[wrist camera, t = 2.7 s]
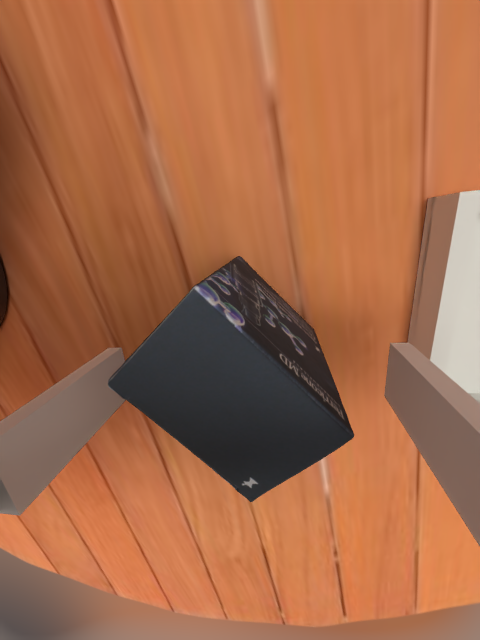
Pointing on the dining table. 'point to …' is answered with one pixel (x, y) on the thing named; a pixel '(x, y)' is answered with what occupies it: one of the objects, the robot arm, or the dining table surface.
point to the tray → (450, 289)
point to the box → (238, 382)
